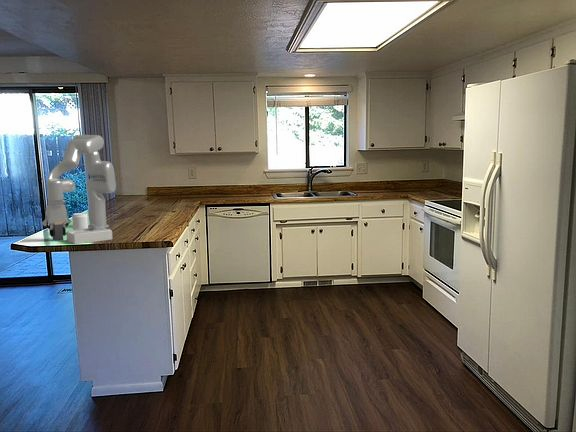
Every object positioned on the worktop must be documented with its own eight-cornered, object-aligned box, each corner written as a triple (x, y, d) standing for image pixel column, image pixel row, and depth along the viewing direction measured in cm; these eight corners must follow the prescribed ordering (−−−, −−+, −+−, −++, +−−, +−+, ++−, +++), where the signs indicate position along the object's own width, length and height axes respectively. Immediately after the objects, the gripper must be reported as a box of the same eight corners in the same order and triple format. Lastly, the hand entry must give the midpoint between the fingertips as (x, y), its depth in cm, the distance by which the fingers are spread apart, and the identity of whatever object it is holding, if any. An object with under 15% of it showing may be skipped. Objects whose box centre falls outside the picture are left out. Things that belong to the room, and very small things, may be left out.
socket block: (67, 240, 247) (66, 230, 246) (103, 236, 261) (103, 226, 260) (74, 244, 238) (74, 233, 238) (112, 239, 252) (112, 229, 251)
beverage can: (85, 232, 273) (84, 212, 271) (90, 234, 267) (89, 214, 265) (71, 233, 268) (70, 213, 266) (75, 235, 262) (74, 215, 260)
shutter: (88, 229, 252) (88, 224, 252) (101, 228, 257) (101, 222, 256) (93, 231, 247) (93, 225, 246) (106, 230, 252) (106, 224, 251)
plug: (52, 239, 249) (51, 218, 247) (60, 239, 251) (59, 217, 250) (55, 241, 245) (54, 219, 244) (63, 240, 248) (62, 218, 246)
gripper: (70, 201, 254) (71, 233, 257) (36, 203, 242) (38, 236, 245) (74, 202, 249) (76, 235, 251) (40, 204, 237) (42, 238, 239)
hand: (57, 235), depth 248 cm, fingers open, 5 cm apart
